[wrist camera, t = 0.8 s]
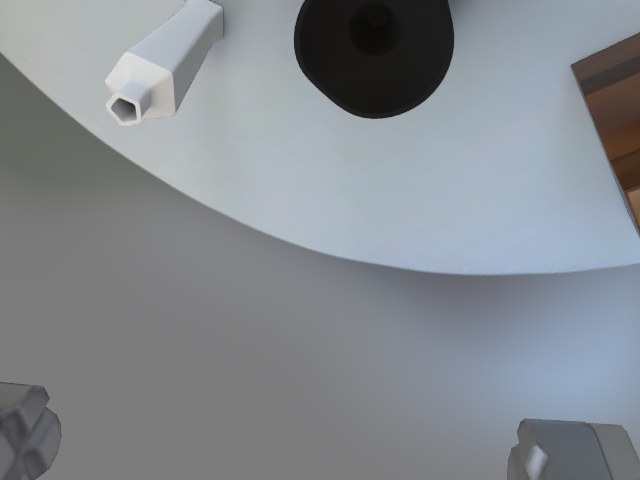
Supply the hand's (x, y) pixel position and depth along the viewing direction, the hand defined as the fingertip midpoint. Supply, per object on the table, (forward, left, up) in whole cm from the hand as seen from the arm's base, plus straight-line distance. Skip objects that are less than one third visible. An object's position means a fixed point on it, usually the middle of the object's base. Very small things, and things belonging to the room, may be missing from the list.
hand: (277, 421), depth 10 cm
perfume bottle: (+11, -11, -38) cm, 41 cm away
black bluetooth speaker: (+4, +1, -38) cm, 38 cm away
